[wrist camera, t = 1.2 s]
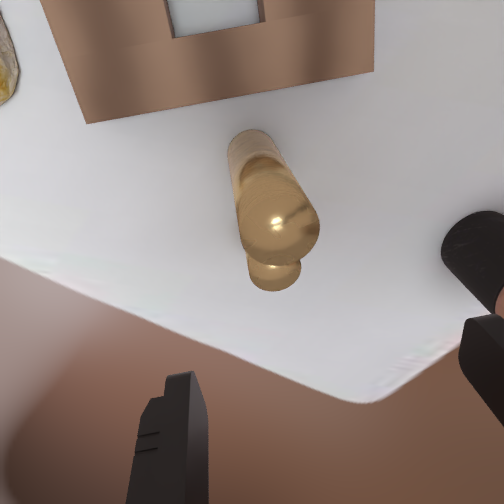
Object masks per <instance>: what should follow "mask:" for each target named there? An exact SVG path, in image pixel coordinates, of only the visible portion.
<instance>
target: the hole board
mask: <svg viewBox="0 0 504 504" xmlns="http://www.w3.org/2000/svg"><path fill="white" fill-rule="evenodd" d="M40 2H41V5H42V7H43V10H44V13H45V15H46V18H47V21H48V23H49V26H50V29H51V31H52V34H53V37H54V39H55V42H56V44H57V47H58V50H59V52H60V55H61V58H62V60H63V63H64V66H65V68H66V71H67V74H68V76H69V79H70V82H71V84H72V87H73V90H74V92H75V95H76V97H77V100H78V103H79V105H80V108H81V111H82V113H83V116H84V119H85V121H86V124H91V123H96V122H101V121H107V120H112V119H118V118H123V117H129V116H134V115H140V114H145V113H150V112H156V111H161V110H167V109H172V108H178V107H183V106H189V105H194V104H199V103H205V102H210V101H216V100H221V99H227V98H232V97H238V96H243V95H248V94H254V93H259V92H265V91H270V90H276V89H281V88H287V87H292V86H297V85H303V84H308V83H314V82H319V81H325V80H330V79H336V78H341V77H346V76H352V75H357V74H363V73H368V72H374V23H375V0H257V2H258V10H259V18H260V23H256V24H251V25H245V26H240V27H234V28H229V29H223V30H218V31H212V32H207V33H201V34H196V35H190V36H185V37H179V38H175V34H174V29H173V25H172V20H171V16H170V12H169V7H168V3H167V0H40Z"/></svg>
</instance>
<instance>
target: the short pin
mask: <svg viewBox="0 0 504 504" xmlns="http://www.w3.org/2000/svg"><path fill="white" fill-rule="evenodd" d="M245 252H246V251H245ZM246 258H247V264H248V270H249V275H250V278H251V280H252V282H253V283H254V284H255V285H256V286H257V287H258V288H260V289H262V290H266V291H280V290H283V289H286V288H288V287H289V286H291V285H292V284H293V283H294V282H295V281H296V280H297V279H298V277H299V275H300V272H301V262H300V260H298V261H296V262H294V263H291V264H288V265H283V266H270V265H265V264H262V263H260V262H258V261H256V260H254V259H253V258H252V257H250V256H249V255H248V253H247V252H246Z"/></svg>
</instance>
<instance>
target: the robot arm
mask: <svg viewBox="0 0 504 504" xmlns="http://www.w3.org/2000/svg"><path fill="white" fill-rule="evenodd" d="M458 359H459V364H460V367H461V370H462V372H463V374H464V375H465V377H466V378H467V379H468V381H469V382H470V383H471V384H472V386H473V387H474V389H475V390H476V391H477V392H478V394H479V395H480V396H481V398H482V399H483V400H484V402H485V403H486V404H487V406H488V407H489V408H490V410H491V411H492V412H493V413H494V415H495V416H496V417H497V419H498V420H499V421H500V423H501V424H502V425H503V426H504V319H503V318H502V317H501V316H499V315H497V314H490V315H484V316H479V317H474V318H469V319H467V320H466V321H465V324H464V329H463V334H462V339H461V344H460V349H459V356H458ZM137 436H138V439H137V441H136V447H135V456H134V458H133V464H132V470H131V475H130V482H129V487H128V493H127V499H126V504H209V492H208V491H209V490H208V489H209V485H208V484H209V481H208V480H209V476H208V415H207V409H206V405H205V401H204V398H203V395H202V392H201V390H200V387H199V384H198V381H197V378H196V376H195V373H194V371H188V372H183V373H179V374H173V375H168V376H167V378H166V382H165V391H164V396H162V397H157V398H152V399H151V400H150V401H149V403H148V405H147V406H146V408H145V410H144V412H143V414H142V415H141V418H140V424H139V429H138V435H137Z"/></svg>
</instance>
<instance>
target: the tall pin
mask: <svg viewBox="0 0 504 504" xmlns="http://www.w3.org/2000/svg"><path fill="white" fill-rule="evenodd" d="M228 162H229V169H230V175H231V181H232V188H233V194H234V200H235V206H236V213H237V219H238V225H239V232H240V238H241V242H242V245H243V247H244V249H245V251H246V252H247V253H248V255H249V256H250V257H252V258H253V259H254V260H256V261H258V262H260V263H262V264H265V265H270V266H283V265H288V264H291V263H294V262H296V261H298V260H300V259H301V258H303V257H304V256H305V255H307V254H308V253H309V252H310V250H311V249H312V248H313V247H314V245H315V243H316V241H317V239H318V236H319V230H320V224H319V218H318V215H317V213H316V211H315V210H314V208H313V206H312V205H311V203H310V201H309V200H308V198H307V197H306V195H305V193H304V192H303V190H302V188H301V187H300V185H299V183H298V182H297V180H296V179H295V177H294V175H293V174H292V172H291V170H290V169H289V167H288V166H287V164H286V162H285V161H284V159H283V157H282V156H281V154H280V153H279V151H278V149H277V148H276V146H275V144H274V143H273V141H272V140H271V138H270V137H269V136H268V135H267V134H265V133H264V132H262V131H259V130H246V131H243V132H241V133H239V134H238V135H236V136H235V137H234V138H233V140H232V141H231V143H230V145H229V148H228Z"/></svg>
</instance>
